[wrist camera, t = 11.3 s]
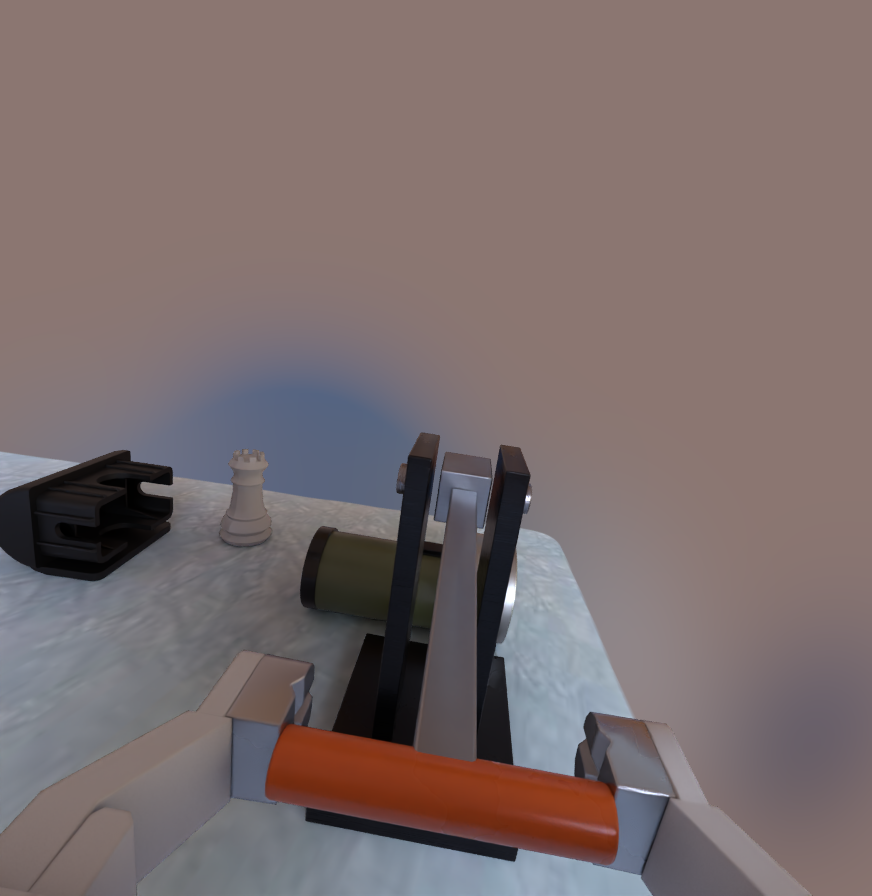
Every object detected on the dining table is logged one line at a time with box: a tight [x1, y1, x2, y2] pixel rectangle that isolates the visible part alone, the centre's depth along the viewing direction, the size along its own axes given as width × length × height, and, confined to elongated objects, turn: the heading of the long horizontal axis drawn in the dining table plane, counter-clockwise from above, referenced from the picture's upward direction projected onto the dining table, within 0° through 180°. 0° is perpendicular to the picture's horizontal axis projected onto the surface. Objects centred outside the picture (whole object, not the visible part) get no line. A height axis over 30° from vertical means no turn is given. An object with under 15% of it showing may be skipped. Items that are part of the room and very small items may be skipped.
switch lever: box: [265, 452, 619, 866], centre depth 15 cm, size 16×6×2 cm, turn 176°
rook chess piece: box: [219, 449, 272, 546], centre depth 41 cm, size 4×4×8 cm
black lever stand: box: [306, 433, 532, 862], centre depth 23 cm, size 11×9×16 cm
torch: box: [300, 526, 517, 644], centre depth 33 cm, size 14×7×7 cm, turn 86°
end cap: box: [0, 450, 173, 581], centre depth 36 cm, size 10×7×7 cm
